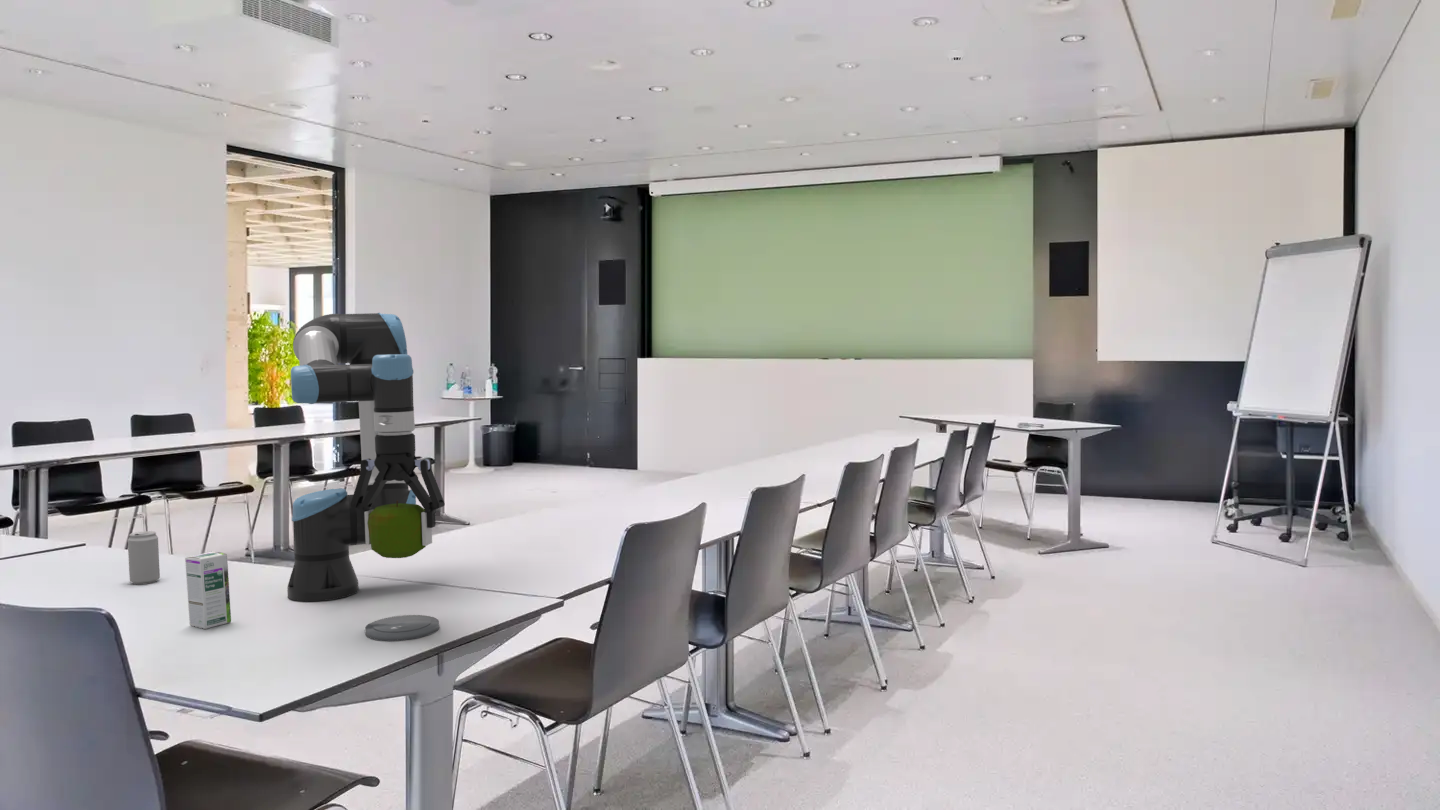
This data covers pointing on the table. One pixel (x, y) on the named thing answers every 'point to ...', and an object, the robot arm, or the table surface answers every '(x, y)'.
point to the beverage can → (143, 557)
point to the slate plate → (402, 627)
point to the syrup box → (208, 589)
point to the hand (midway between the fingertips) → (399, 543)
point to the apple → (396, 530)
